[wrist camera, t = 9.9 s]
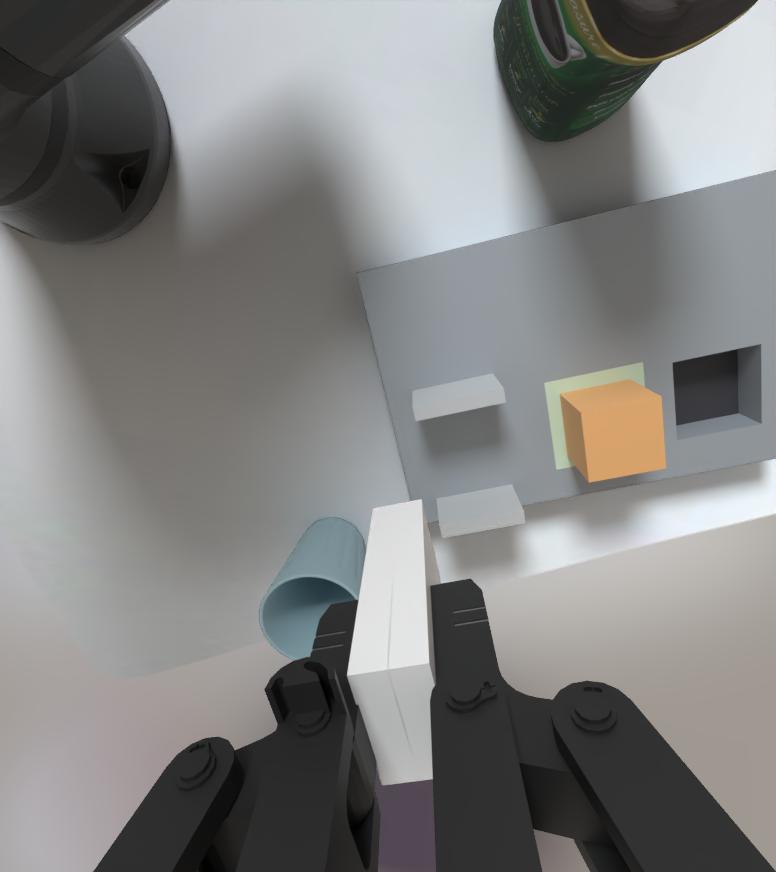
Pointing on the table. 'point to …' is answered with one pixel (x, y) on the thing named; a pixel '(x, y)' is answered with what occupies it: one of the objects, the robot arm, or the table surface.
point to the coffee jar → (594, 53)
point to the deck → (579, 347)
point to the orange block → (614, 430)
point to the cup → (312, 585)
